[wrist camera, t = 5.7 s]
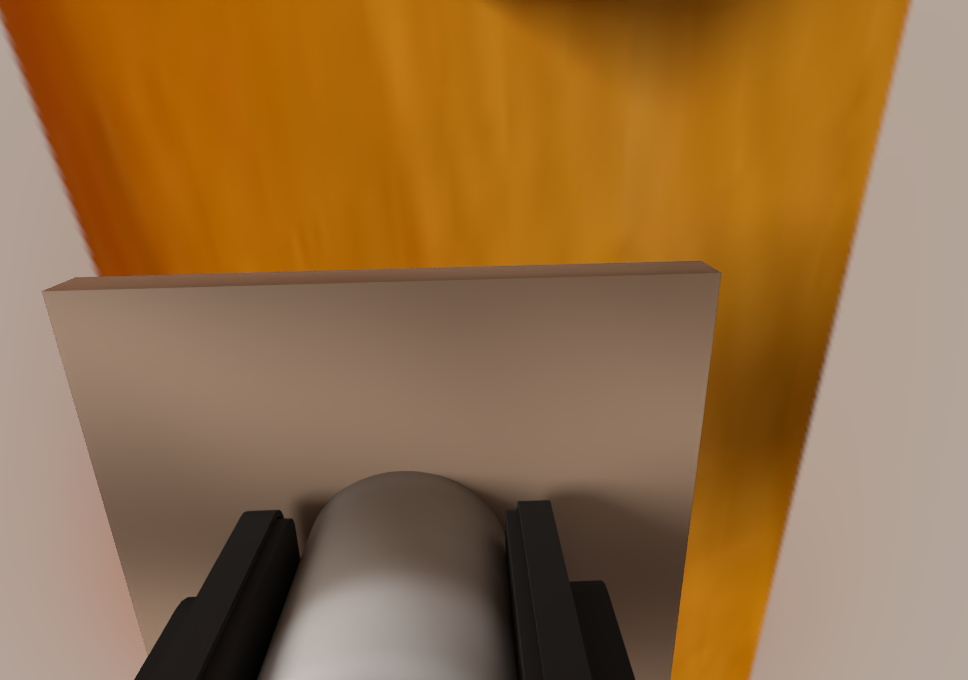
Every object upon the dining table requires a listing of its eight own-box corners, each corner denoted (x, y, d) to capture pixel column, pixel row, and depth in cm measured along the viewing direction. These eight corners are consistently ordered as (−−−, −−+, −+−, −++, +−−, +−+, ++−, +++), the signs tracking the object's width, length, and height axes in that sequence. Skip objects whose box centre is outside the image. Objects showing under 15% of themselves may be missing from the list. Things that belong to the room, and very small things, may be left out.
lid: (75, 277, 9) (-460, 496, 4) (701, 260, 10) (1012, 444, 4) (195, 725, 13) (0, 1168, 7) (651, 704, 13) (785, 1115, 8)
